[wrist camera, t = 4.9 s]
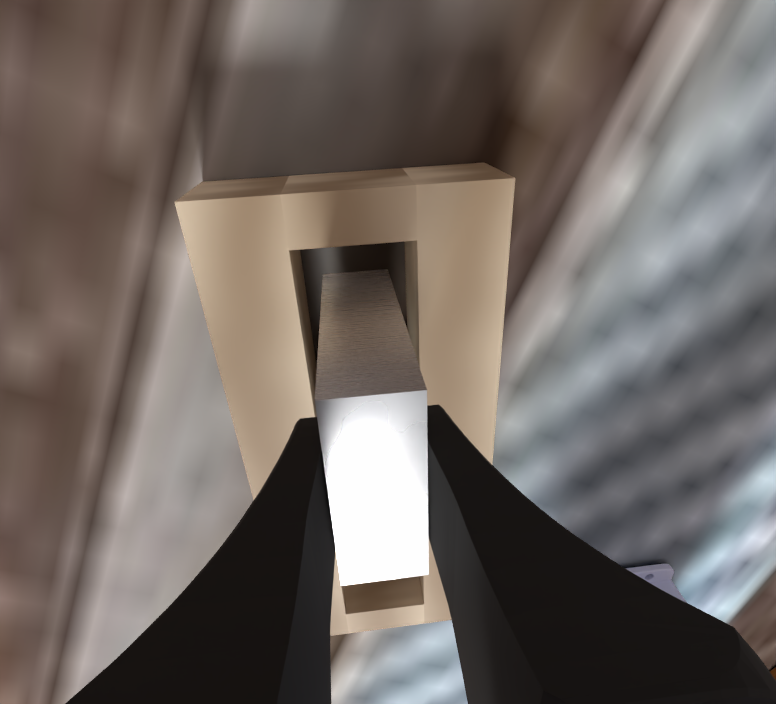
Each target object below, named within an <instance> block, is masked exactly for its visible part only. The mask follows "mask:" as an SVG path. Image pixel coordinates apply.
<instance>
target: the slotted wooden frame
mask: <svg viewBox="0 0 776 704" xmlns="http://www.w3.org/2000/svg"><path fill="white" fill-rule="evenodd" d="M514 187H515V178H514V177H512V176H510V175H508V174H506V173H504V172H502V171H500V170H498V169H496V168H494V167H492V166H490V165H488V164H486V163H469V164H454V165H440V166H425V167H410V168H396V169H381V170H366V171H351V172H337V173H322V174H307V175H293V176H278V177H263V178H249V179H234V180H219V181H204V182H201V183H200V184H198V185H197V186H196V187H194V188H193V189H192V190H190V191H189V192H188V193H186V194H185V195H183V196H182V197H181V198H179V199H178V200H177V201H175V206H176V209H177V213H178V217H179V221H180V224H181V228H182V232H183V236H184V239H185V243H186V247H187V251H188V255H189V258H190V262H191V266H192V270H193V273H194V277H195V281H196V285H197V288H198V292H199V296H200V300H201V304H202V307H203V311H204V315H205V319H206V322H207V326H208V330H209V334H210V337H211V341H212V345H213V349H214V353H215V356H216V360H217V364H218V368H219V371H220V375H221V379H222V383H223V386H224V390H225V394H226V398H227V402H228V405H229V409H230V413H231V417H232V420H233V424H234V428H235V432H236V435H237V439H238V443H239V447H240V451H241V454H242V458H243V462H244V466H245V469H246V473H247V477H248V481H249V484H250V488H251V492H252V496H253V500H254V499H255V498H256V496H257V495H258V493H259V492H260V490H261V489H262V487H263V485H264V484H265V482H266V480H267V478H268V477H269V475H270V473H271V471H272V470H273V468H274V466H275V465H276V463H277V461H278V459H279V457H280V455H281V453H282V452H283V450H284V448H285V446H286V444H287V442H288V440H289V438H290V435H291V433H292V431H293V429H294V426H295V424H296V422H297V421H298V420H299V419H300V418H310V417H317V413H316V406H315V388H316V373H317V364H316V358H315V351H314V344H313V337H312V330H311V323H310V316H309V309H308V302H307V295H306V288H305V281H304V274H303V268H302V261H301V254H300V250H301V249H314V248H326V247H339V246H352V245H365V244H378V243H391V242H403V241H404V246H405V277H406V308H407V330H408V333H409V336H410V339H411V342H412V345H413V348H414V352H415V355H416V358H417V361H418V364H419V367H420V370H421V373H422V376H423V379H424V382H425V385H426V388H427V406H428V405H438V404H439V405H440V406H441V407H442V408H443V409H444V410H445V411H446V413H447V414H448V415H449V416H450V418H451V419H452V420H453V422H454V423H455V424H456V425H457V426H458V428H459V429H460V430H461V431H462V432H463V434H464V435H465V436H466V437H467V438H468V439H469V441H470V442H471V443H472V444H473V445H474V446H475V447H476V448H477V449H478V450H479V452H480V453H481V454H482V455H483V456H484V457H485V458H486V459H487V460H488V461H489V462H490V463H491V464H492V461H493V449H494V436H495V424H496V411H497V399H498V386H499V374H500V361H501V349H502V336H503V324H504V312H505V299H506V287H507V274H508V262H509V249H510V237H511V224H512V212H513V199H514ZM428 546H429V575H424V576H416V577H407V578H399V579H391V580H383V581H374V582H366V583H358V584H350V585H342V586H341V581H340V574H339V567H338V560H337V553H336V550H335V565H334V579H333V593H332V607H331V625H330V636H332V635H340V634H347V633H355V632H363V631H370V630H378V629H386V628H393V627H401V626H409V625H416V624H424V623H431V622H439V621H447V620H452V619H451V615H450V611H449V607H448V603H447V599H446V596H445V592H444V589H443V585H442V582H441V579H440V575H439V572H438V568H437V565H436V561H435V558H434V554H433V551H432V548H431V544H430V541H429V537H428Z"/></svg>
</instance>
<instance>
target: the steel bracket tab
mask: <svg viewBox="0 0 776 704" xmlns="http://www.w3.org/2000/svg"><path fill="white" fill-rule="evenodd" d="M315 406H316V413H317V420H318V427H319V434H320V441H321V448H322V455H323V462H324V469H325V476H326V483H327V490H328V497H329V504H330V511H331V518H332V525H333V532H334V539H335V546H336V553H337V560H338V567H339V574H340V581H341V586H342V585H350V584H358V583H366V582H374V581H383V580H391V579H399V578H407V577H416V576H424V575H429V546H428V439H427V388H426V385H425V382H424V379H423V376H422V373H421V370H420V367H419V364H418V361H417V358H416V355H415V352H414V348H413V345H412V342H411V339H410V336H409V333H408V330H407V327H406V324H405V321H404V318H403V315H402V312H401V309H400V305H399V302H398V299H397V296H396V293H395V290H394V287H393V284H392V281H391V278H390V275H389V272H388V269H384V270H371V271H358V272H345V273H332V274H323V279H322V295H321V310H320V326H319V341H318V357H317V373H316V388H315Z"/></svg>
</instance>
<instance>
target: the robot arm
mask: <svg viewBox="0 0 776 704" xmlns="http://www.w3.org/2000/svg"><path fill="white" fill-rule="evenodd" d="M427 439H428V537H429V541H430V544H431V548H432V551H433V554H434V558H435V561H436V565H437V568H438V572H439V575H440V579H441V582H442V585H443V589H444V592H445V596H446V599H447V603H448V607H449V611H450V615H451V619H452V623H453V628H454V633H455V638H456V643H457V648H458V653H459V658H460V663H461V669H462V674H463V679H464V684H465V690H466V695H467V700H468V704H776V680H775V678H774V677H773V676H772V674H771V673H770V671H769V670H768V669H767V667H766V666H765V665H764V663H763V662H762V661H761V659H760V658H759V657H758V655H757V654H756V653H755V652H754V651H753V649H752V648H751V647H750V646H749V645H748V644H747V642H746V641H745V640H744V639H743V638H742V637H741V635H740V634H739V633H738V632H737V631H736V629H735V628H734V627H732V626H730V625H728V624H726V623H724V622H723V621H721V620H719V619H717V618H715V617H713V616H711V615H709V614H707V613H705V612H703V611H701V610H699V609H697V608H695V607H693V606H692V605H690V604H688V603H687V602H686V601H685V599H684V598H683V596H682V595H681V593H680V592H679V590H678V589H677V588H676V586H675V585H674V583H673V582H672V577H673V574H674V570H673V568H672V567H671V566H670V565H669V564H656V565H648V566H640V567H632V568H624V567H622V566H620V565H619V564H617V563H616V562H614V561H612V560H611V559H609V558H608V557H606V556H605V555H603V554H602V553H600V552H599V551H597V550H596V549H594V548H593V547H591V546H590V545H588V544H587V543H585V542H584V541H583V540H581V539H580V538H578V537H577V536H575V535H574V534H572V533H571V532H570V531H568V530H567V529H566V528H564V527H563V526H562V525H560V524H559V523H557V522H556V521H555V520H554V519H552V518H551V517H550V516H549V515H547V514H546V513H545V512H544V511H542V510H541V509H540V508H539V507H537V506H536V505H535V504H534V503H533V502H531V501H530V500H529V499H528V498H527V497H526V496H525V495H523V494H522V493H521V492H520V491H519V490H518V489H517V488H516V487H515V486H514V485H512V484H511V483H510V482H509V481H508V480H507V479H506V478H505V477H504V476H503V475H502V474H501V473H500V472H499V471H498V470H497V469H496V468H495V467H494V466H493V465H492V464H491V463H490V462H489V461H488V460H487V459H486V458H485V457H484V456H483V455H482V454H481V453H480V452H479V450H478V449H477V448H476V447H475V446H474V445H473V444H472V443H471V442H470V441H469V439H468V438H467V437H466V436H465V435H464V434H463V432H462V431H461V430H460V429H459V428H458V426H457V425H456V424H455V423H454V422H453V420H452V419H451V418H450V416H449V415H448V414H447V413H446V411H445V410H444V409H443V408H442V407H441V406H440V405H439V404H438V405H428V406H427ZM335 550H336V546H335V539H334V532H333V525H332V518H331V511H330V504H329V497H328V490H327V483H326V476H325V469H324V462H323V455H322V448H321V441H320V434H319V427H318V420H317V417H310V418H300V419H299V420H298V421H297V422H296V424H295V426H294V429H293V431H292V433H291V435H290V438H289V440H288V442H287V444H286V446H285V448H284V450H283V452H282V453H281V455H280V457H279V459H278V461H277V463H276V465H275V466H274V468H273V470H272V471H271V473H270V475H269V477H268V478H267V480H266V482H265V484H264V485H263V487H262V489H261V490H260V492H259V493H258V495H257V496H256V498H255V499H254V501H253V502H252V504H251V505H250V507H249V508H248V510H247V511H246V513H245V514H244V516H243V517H242V519H241V520H240V522H239V523H238V525H237V526H236V527H235V529H234V530H233V531H232V533H231V534H230V535H229V537H228V538H227V539H226V541H225V542H224V543H223V545H222V546H221V547H220V548H219V550H218V551H217V552H216V553H215V555H214V556H213V557H212V558H211V560H210V561H209V562H208V563H207V564H206V566H205V567H204V568H203V569H202V570H201V571H200V573H199V574H198V575H197V576H196V577H195V578H194V580H193V581H192V582H191V583H190V584H189V585H188V586H187V588H186V589H185V590H184V591H183V592H182V593H181V594H180V595H179V596H178V598H177V599H176V600H175V601H174V602H173V603H172V604H171V605H170V606H169V607H168V608H167V609H166V610H165V611H164V612H163V613H162V614H161V615H160V616H159V617H158V618H157V619H156V620H155V621H154V622H153V623H152V624H151V625H150V626H149V627H148V628H147V629H146V630H145V631H144V632H143V633H142V634H141V635H140V636H139V637H138V638H137V639H136V640H135V641H134V642H133V643H132V644H131V645H130V646H129V647H128V648H127V649H126V650H125V651H124V652H123V653H122V654H121V655H120V656H119V657H118V658H117V659H116V660H114V661H113V662H112V663H111V664H110V665H109V666H108V667H107V668H106V669H104V670H103V671H102V672H101V673H100V674H99V675H98V676H96V677H95V678H94V679H93V680H92V681H91V682H90V683H88V684H87V685H86V686H85V687H84V688H83V689H82V690H80V691H79V692H78V693H77V694H76V695H75V696H74V697H72V698H71V699H70V700H69V701H68V702H67V703H66V704H331V670H330V625H331V607H332V593H333V579H334V565H335Z"/></svg>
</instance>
